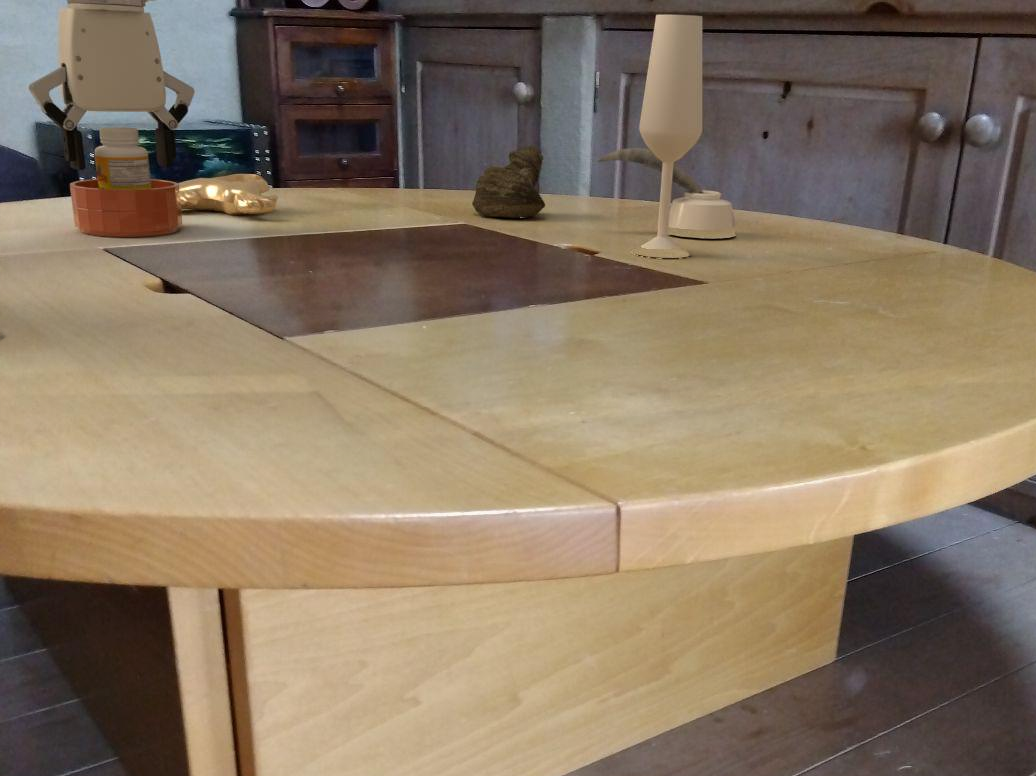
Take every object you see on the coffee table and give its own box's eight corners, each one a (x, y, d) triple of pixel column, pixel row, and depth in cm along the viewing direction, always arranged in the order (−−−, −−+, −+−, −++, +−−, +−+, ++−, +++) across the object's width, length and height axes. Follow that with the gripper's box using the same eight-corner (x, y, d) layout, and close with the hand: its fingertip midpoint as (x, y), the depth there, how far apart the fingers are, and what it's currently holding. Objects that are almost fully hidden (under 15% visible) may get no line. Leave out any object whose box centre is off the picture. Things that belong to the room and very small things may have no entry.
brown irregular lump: (575, 172, 144) (559, 163, 153) (500, 117, 139) (488, 111, 148) (525, 248, 146) (512, 234, 155) (450, 196, 142) (441, 185, 151)
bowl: (94, 240, 119) (89, 191, 117) (62, 226, 128) (56, 180, 126) (198, 234, 126) (194, 187, 124) (161, 220, 134) (157, 177, 132)
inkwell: (746, 240, 136) (756, 154, 132) (602, 239, 133) (607, 150, 129) (722, 229, 144) (730, 147, 140) (586, 228, 141) (590, 144, 137)
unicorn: (320, 179, 142) (216, 199, 129) (322, 211, 144) (220, 234, 131) (211, 164, 152) (104, 182, 139) (215, 194, 154) (110, 215, 141)
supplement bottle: (107, 220, 128) (96, 125, 124) (157, 221, 129) (148, 127, 125) (98, 228, 123) (87, 129, 119) (151, 228, 124) (141, 130, 120)
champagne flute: (620, 250, 126) (634, 14, 117) (671, 248, 129) (690, 17, 119) (649, 259, 120) (667, 13, 111) (703, 257, 123) (724, 16, 114)
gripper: (172, 1, 125) (186, 163, 132) (7, -9, 115) (31, 166, 122) (198, 0, 119) (211, 169, 126) (27, -11, 110) (51, 173, 116)
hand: (122, 167), depth 124 cm, fingers open, 9 cm apart
